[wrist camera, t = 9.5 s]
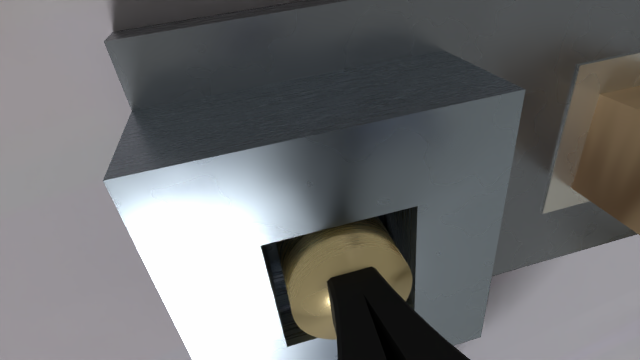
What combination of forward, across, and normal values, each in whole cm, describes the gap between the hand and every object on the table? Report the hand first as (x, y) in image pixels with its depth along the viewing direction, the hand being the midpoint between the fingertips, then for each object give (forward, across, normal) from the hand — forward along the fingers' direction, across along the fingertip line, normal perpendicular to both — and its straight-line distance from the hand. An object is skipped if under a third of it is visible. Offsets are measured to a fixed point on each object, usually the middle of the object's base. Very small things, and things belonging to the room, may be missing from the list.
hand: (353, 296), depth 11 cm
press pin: (+3, 0, 0) cm, 3 cm away
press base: (+6, -8, 0) cm, 10 cm away
